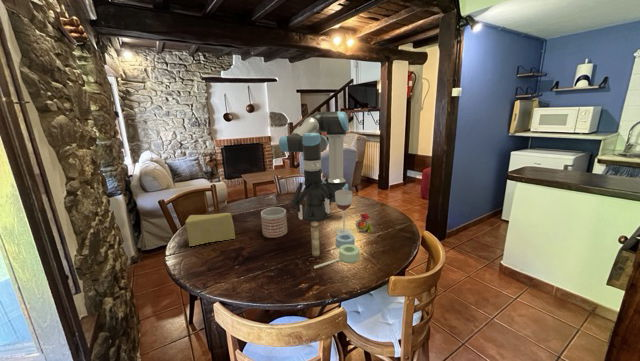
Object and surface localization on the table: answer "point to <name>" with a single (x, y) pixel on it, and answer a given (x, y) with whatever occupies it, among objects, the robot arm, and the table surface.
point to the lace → (326, 263)
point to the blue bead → (345, 239)
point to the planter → (274, 222)
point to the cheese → (209, 228)
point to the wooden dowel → (315, 238)
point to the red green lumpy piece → (361, 225)
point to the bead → (349, 253)
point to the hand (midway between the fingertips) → (314, 215)
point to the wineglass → (343, 206)
